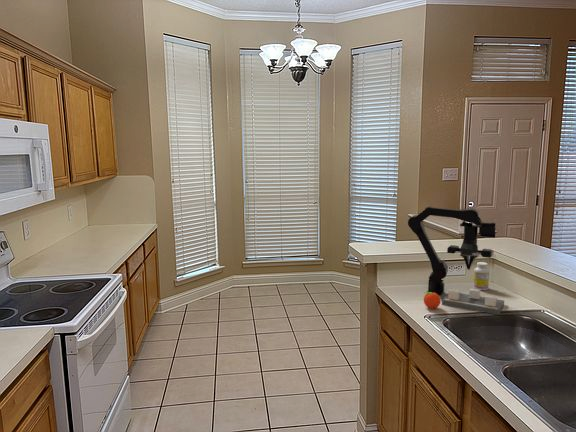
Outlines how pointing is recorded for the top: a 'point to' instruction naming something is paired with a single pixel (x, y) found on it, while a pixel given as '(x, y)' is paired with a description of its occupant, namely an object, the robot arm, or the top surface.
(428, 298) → the red tomato
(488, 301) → the tab right
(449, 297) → the tab left
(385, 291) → the top surface
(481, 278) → the supplement bottle
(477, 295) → the tab middle
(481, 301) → the switch bank
